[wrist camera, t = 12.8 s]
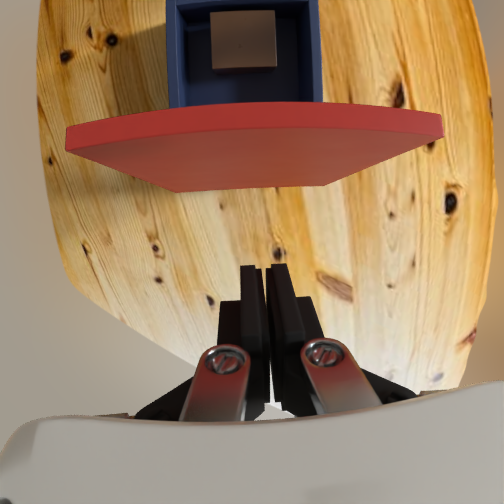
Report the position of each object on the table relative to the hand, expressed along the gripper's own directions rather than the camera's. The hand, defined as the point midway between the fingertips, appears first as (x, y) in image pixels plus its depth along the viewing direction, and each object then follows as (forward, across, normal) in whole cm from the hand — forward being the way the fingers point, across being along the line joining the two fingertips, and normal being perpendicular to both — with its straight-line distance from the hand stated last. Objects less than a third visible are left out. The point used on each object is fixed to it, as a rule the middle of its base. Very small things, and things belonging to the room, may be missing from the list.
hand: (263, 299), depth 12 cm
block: (+21, 0, -13) cm, 24 cm away
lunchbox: (+22, 0, -9) cm, 23 cm away
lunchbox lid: (+7, 0, -4) cm, 8 cm away
